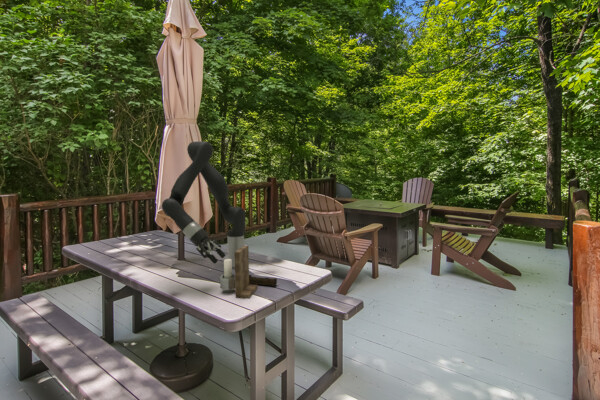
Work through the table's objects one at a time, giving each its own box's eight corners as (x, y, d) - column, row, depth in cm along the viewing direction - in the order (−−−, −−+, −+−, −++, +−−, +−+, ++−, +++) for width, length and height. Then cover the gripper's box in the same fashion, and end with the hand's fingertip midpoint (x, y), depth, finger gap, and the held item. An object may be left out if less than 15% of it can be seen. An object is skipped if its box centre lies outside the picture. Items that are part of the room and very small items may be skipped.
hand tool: (277, 285, 161) (277, 275, 161) (274, 288, 157) (274, 278, 157) (241, 281, 167) (241, 272, 166) (238, 284, 163) (237, 274, 163)
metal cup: (224, 284, 157) (224, 273, 156) (243, 285, 155) (242, 274, 154) (218, 289, 150) (218, 278, 149) (237, 290, 148) (237, 279, 148)
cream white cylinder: (226, 284, 155) (225, 258, 153) (233, 284, 154) (232, 259, 153) (223, 287, 151) (222, 260, 150) (230, 287, 151) (229, 261, 149)
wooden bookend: (245, 287, 158) (244, 245, 156) (257, 288, 157) (256, 246, 154) (235, 297, 146) (234, 252, 144) (248, 298, 145) (248, 252, 143)
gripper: (193, 231, 145) (219, 258, 144) (208, 225, 159) (231, 249, 158) (182, 242, 147) (208, 269, 146) (197, 235, 160) (221, 260, 160)
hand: (220, 259), depth 152 cm, fingers open, 8 cm apart
